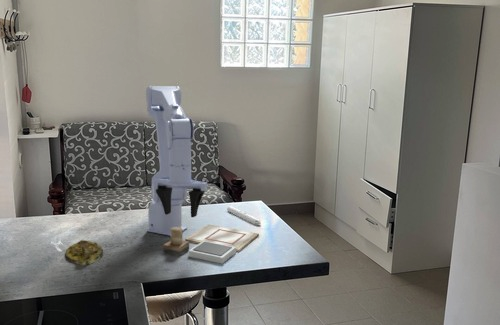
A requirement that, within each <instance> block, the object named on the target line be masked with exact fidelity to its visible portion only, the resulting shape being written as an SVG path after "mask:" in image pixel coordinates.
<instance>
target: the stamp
mask: <svg viewBox="0 0 500 325" xmlns="http://www.w3.org/2000/svg"><path fill="white" fill-rule="evenodd" d="M169 238H170V240H169V241H167V242H165V243H163V253H167V254H171V255H176V256H181V255H182V254H184V253H185V252H188V251H189V250H190V242H188V241H185V240H183V231H182V228H180V227H173V228H171V229H170V237H169Z"/></svg>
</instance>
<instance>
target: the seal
mask: <svg viewBox="0 0 500 325" xmlns="http://www.w3.org/2000/svg"><path fill="white" fill-rule="evenodd" d="M103 251H104V249H103V247H102V246H101V245H100V244H98V242H93V241H91V240H90V241H89V240H84V239H83V240H79V241H78V242H76V243H73V244H72V245H70V246H68V248H66V250H65V258H66V259H67V261H69V262H70V263H72V264H77V265H80V266H81V265H82V266H89V265H91V264H94V263H96V262H99V261H100V259H102V258H103V255H104V254H103V253H104V252H103Z"/></svg>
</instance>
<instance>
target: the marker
mask: <svg viewBox="0 0 500 325" xmlns="http://www.w3.org/2000/svg"><path fill="white" fill-rule="evenodd" d="M226 210H227V212H228V211H229V212H228V213H230V212H231V214H232V213H233V215H235V216H236V215H237V217H238V216H239V218H240V217H241V219H242V218H243V219H242V220H244V219H245V220H244V221H246V220H247V221H246V222H248V221H249V223H250V222H251V224H252V225H256V226H261V224H262V223H261V221H260V219H259V218H256V217H255V216H253V215H250V214H248V213H247V212H245V211H243V210H240V209H238V208H235V207H234V206H231V205H229V206H227V208H226Z"/></svg>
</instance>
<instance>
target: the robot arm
mask: <svg viewBox="0 0 500 325" xmlns="http://www.w3.org/2000/svg"><path fill="white" fill-rule="evenodd" d="M145 97H146V98H145V100H146V111H147V113H148V117H151V118H153V120H154V123H155V130H156V140H157V152H158V161H159V170H158V171H157V172H156V173H155V174H154V175H153V176H152V177H151V197H152V201H151V202H150V204H149V206H148V207H149V208H148V212H147V213H148V228H147V229H146V231H147V232H150V233H154V234H159V235H165V236H170V229H171V228H173V227H180V228H182V232H184V231H186V230H187V229H188V227H187V226H184V225H182V222H183V221H182V218H183V217H182V210H183V209H182V204H183V203H184V201H186V199H187V197H188V196H189V201H190V217H191V218H196V217H197V216H198V210H199V206H200V203H201V201H202V198H203V196H204V195H205V193H206V192H205V191H207V190H208V182H207V181H200V180H199V181H198V180H194V179H192V141H193V139H194V134H195V133H194V132H195V131H194V130H195V128H194V121H193V119H192V118H191V117H187V115H186V113H185V111H184V108H183V107H182V106H181V104H182V91H181V88H180V87H179V86H178V85H176V86H175V85H172V86H171V85H169V86H168V85H167V86H166V85H165V86H164V85H163V86H162V85H160V86H158V85H148V86H147V87H146V90H145ZM188 190H190V191H188Z"/></svg>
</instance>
